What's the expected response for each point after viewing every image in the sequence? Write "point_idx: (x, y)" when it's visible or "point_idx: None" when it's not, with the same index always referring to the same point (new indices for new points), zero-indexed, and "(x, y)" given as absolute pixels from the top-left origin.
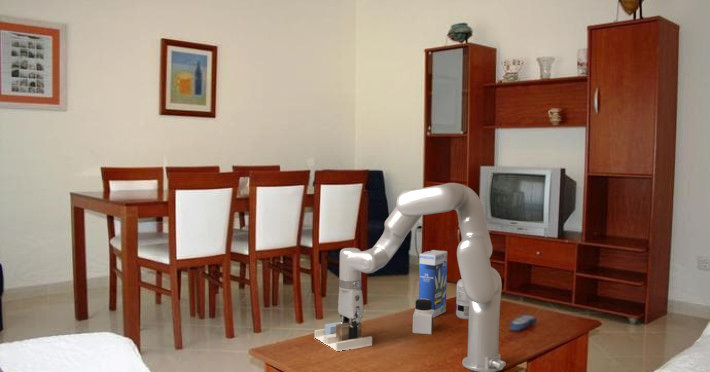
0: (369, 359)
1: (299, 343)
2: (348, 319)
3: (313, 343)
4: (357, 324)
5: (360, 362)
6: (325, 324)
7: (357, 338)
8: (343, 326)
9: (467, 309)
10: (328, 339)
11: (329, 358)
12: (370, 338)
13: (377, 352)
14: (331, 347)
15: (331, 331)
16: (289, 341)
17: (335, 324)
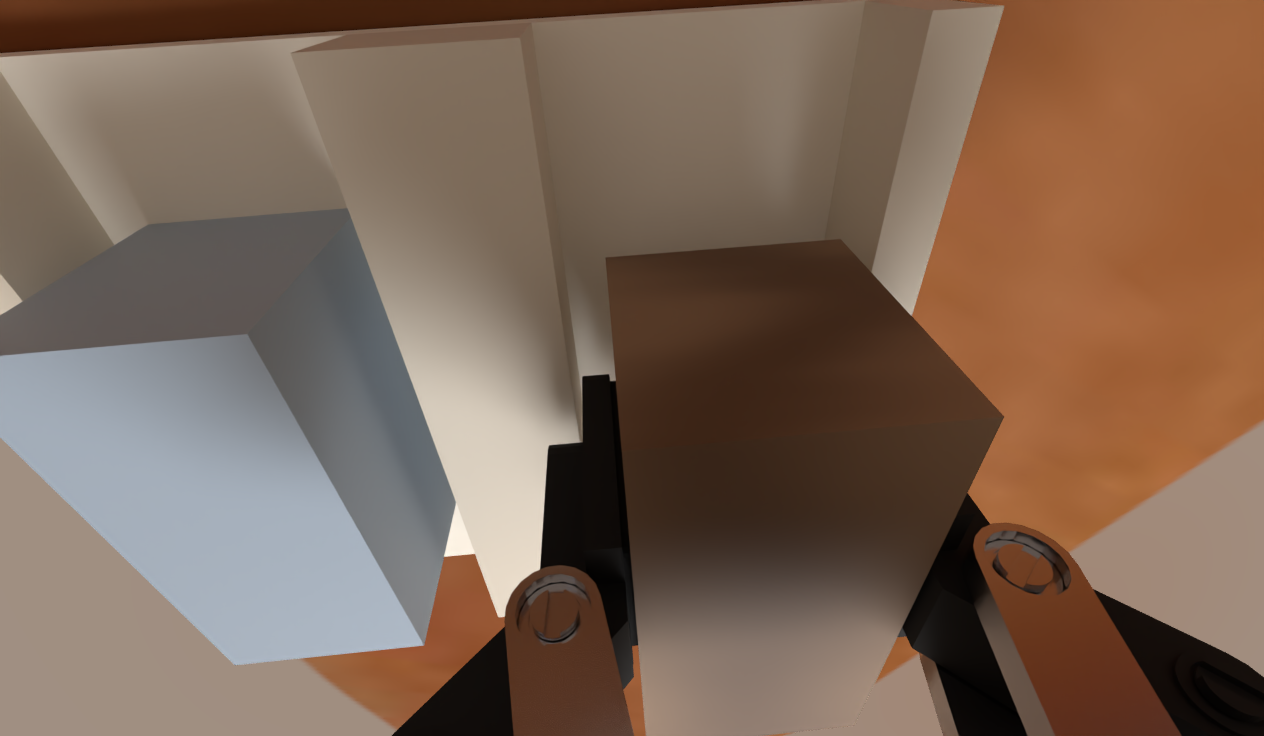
0: (1218, 328)
1: (426, 647)
2: (618, 677)
3: (460, 581)
4: (1134, 637)
5: (1171, 430)
6: (248, 662)
7: (545, 140)
8: (825, 706)
9: None
10: None
11: None
12: (970, 57)
13: (1189, 103)
14: None
15: (432, 566)
16: (352, 681)
17: (263, 568)
